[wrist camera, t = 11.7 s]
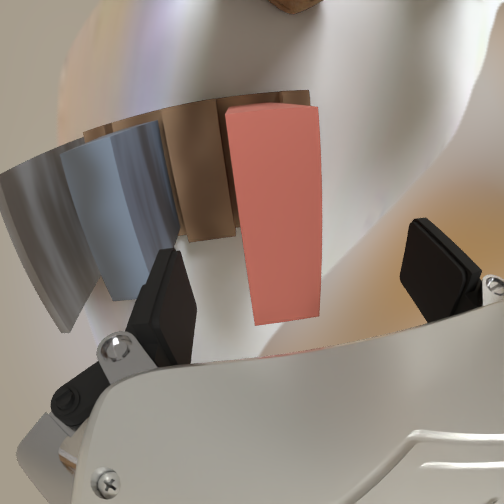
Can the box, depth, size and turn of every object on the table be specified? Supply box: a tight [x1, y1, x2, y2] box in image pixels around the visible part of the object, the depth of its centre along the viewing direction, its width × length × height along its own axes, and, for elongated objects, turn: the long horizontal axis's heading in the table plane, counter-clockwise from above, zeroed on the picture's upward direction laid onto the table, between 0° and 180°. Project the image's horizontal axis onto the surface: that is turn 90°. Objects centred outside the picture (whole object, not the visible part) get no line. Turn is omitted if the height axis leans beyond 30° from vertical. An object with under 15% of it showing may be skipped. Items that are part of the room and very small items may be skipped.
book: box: [225, 102, 322, 326], centre depth 21 cm, size 4×12×16 cm, turn 6°
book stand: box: [0, 90, 310, 333], centre depth 22 cm, size 23×14×16 cm, turn 97°
